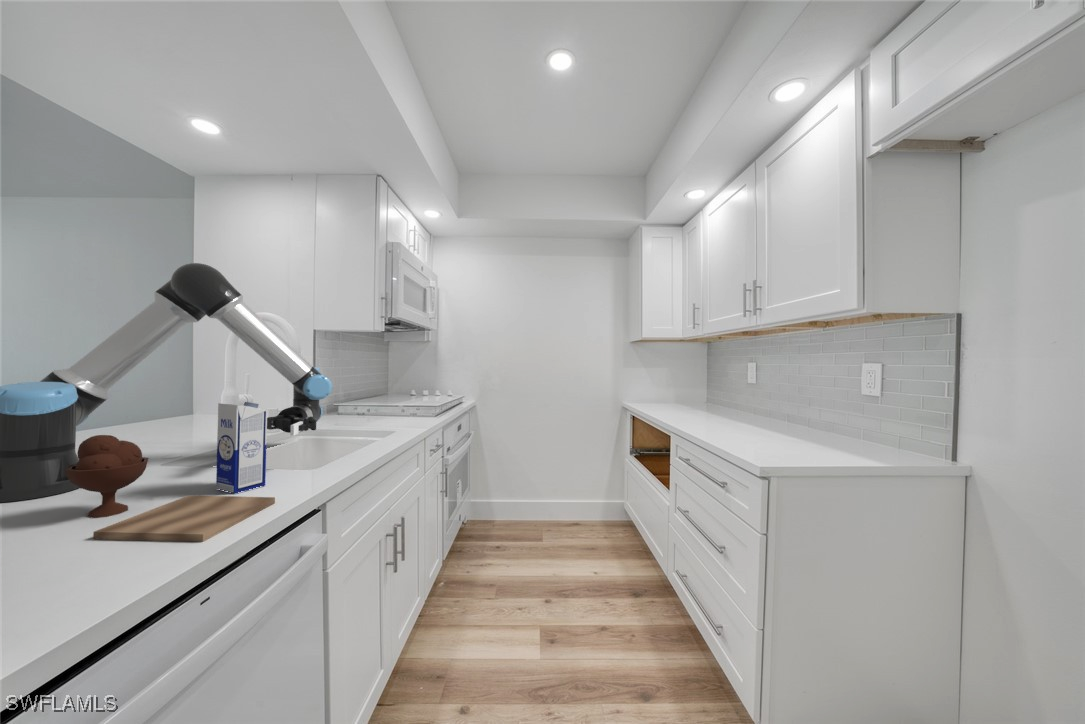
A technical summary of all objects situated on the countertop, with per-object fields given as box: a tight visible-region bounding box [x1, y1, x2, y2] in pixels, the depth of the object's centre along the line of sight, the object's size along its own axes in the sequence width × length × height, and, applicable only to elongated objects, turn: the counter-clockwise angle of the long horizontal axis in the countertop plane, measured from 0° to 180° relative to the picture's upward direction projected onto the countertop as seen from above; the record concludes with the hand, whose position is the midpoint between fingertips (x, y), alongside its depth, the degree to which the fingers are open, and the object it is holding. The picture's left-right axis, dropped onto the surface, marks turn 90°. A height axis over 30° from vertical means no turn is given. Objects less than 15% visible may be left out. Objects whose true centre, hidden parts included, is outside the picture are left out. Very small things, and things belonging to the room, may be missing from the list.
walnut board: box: [92, 494, 276, 543], centre depth 75 cm, size 18×18×1 cm
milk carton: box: [215, 401, 268, 494], centre depth 93 cm, size 7×7×20 cm
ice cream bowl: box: [66, 434, 149, 519], centre depth 77 cm, size 11×11×15 cm
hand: (262, 430), depth 103 cm, fingers open, 13 cm apart
